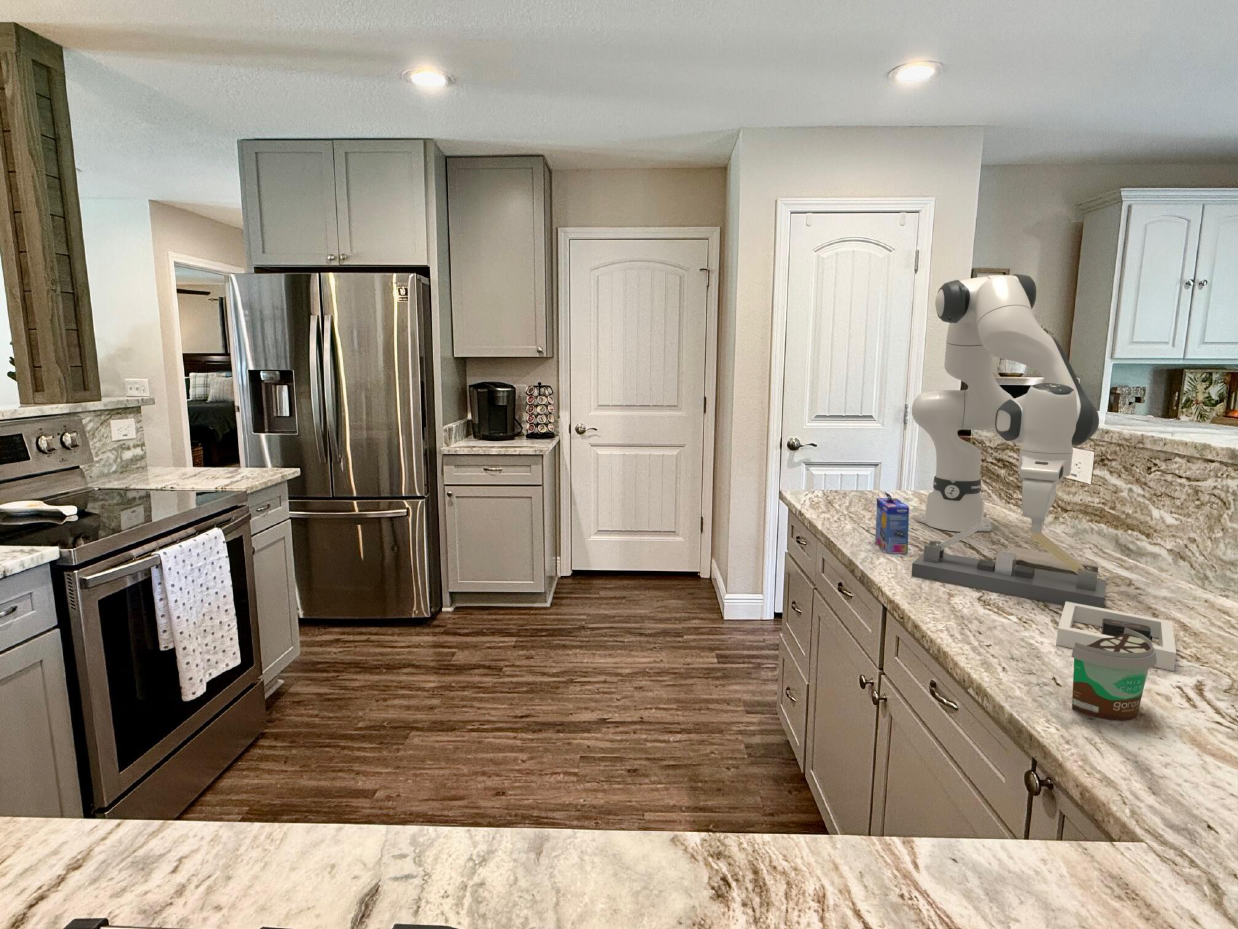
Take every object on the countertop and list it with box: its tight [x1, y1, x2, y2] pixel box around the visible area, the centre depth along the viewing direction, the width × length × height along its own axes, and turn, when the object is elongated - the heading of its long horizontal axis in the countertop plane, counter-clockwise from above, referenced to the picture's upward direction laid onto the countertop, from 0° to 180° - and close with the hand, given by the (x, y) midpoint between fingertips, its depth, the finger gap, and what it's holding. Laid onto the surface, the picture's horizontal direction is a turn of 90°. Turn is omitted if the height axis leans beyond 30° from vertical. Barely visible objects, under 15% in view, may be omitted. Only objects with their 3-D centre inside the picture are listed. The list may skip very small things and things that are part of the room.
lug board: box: [911, 540, 1107, 608], centre depth 134 cm, size 12×34×6 cm, turn 51°
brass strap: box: [1030, 532, 1092, 574], centre depth 127 cm, size 3×13×2 cm
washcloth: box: [992, 546, 1094, 576], centre depth 146 cm, size 12×18×3 cm, turn 42°
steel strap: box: [934, 520, 986, 551], centre depth 139 cm, size 3×13×2 cm
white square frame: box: [1056, 601, 1177, 672], centre depth 107 cm, size 15×15×3 cm
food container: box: [1070, 628, 1157, 722], centre depth 85 cm, size 12×6×10 cm, turn 114°
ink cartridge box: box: [874, 491, 910, 555], centre depth 160 cm, size 10×6×14 cm, turn 174°
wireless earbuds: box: [1100, 618, 1154, 641], centre depth 108 cm, size 5×7×3 cm, turn 56°
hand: (1036, 531), depth 129 cm, fingers closed, pressing on brass strap
